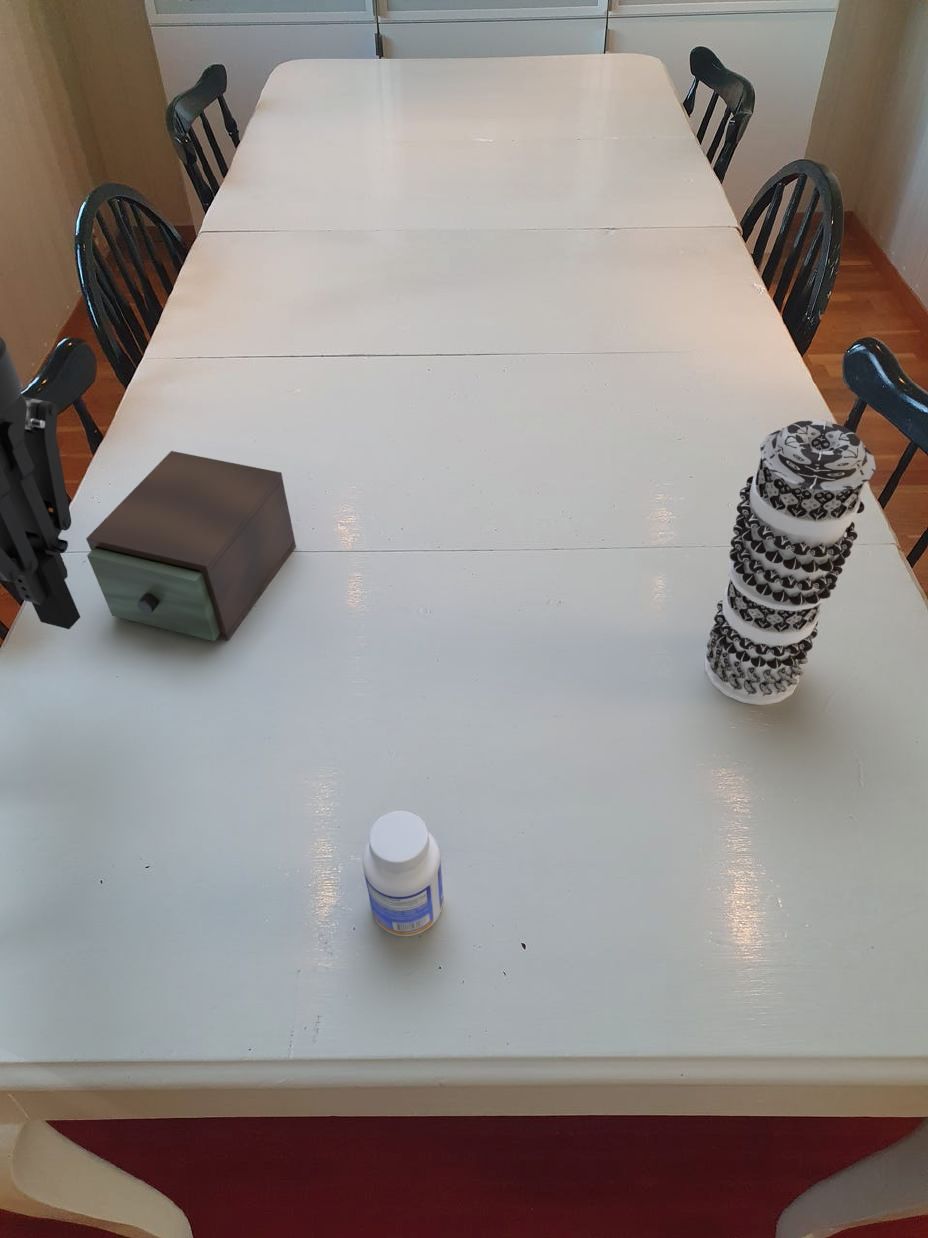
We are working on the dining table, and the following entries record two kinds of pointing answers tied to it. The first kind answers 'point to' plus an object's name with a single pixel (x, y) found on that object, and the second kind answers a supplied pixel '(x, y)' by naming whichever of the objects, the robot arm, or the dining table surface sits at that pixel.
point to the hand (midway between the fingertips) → (60, 619)
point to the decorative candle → (786, 557)
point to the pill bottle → (403, 874)
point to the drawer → (155, 593)
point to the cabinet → (207, 528)
